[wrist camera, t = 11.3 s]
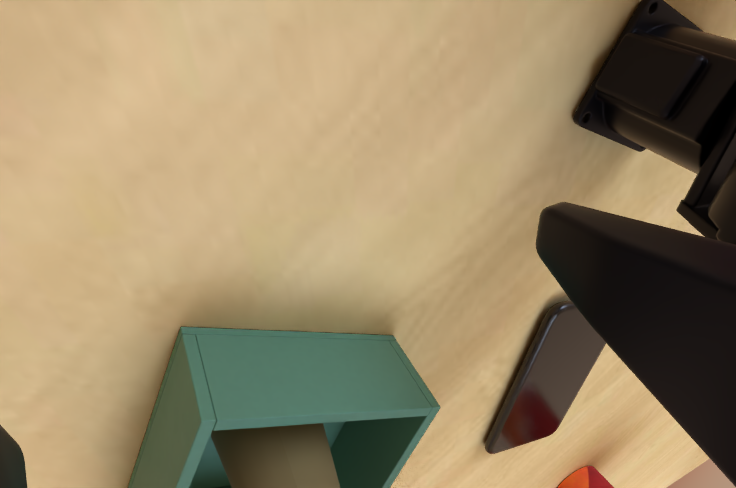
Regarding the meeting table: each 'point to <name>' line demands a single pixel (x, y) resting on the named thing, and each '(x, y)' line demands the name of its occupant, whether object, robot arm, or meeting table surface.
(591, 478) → the paper cup
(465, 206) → the meeting table surface
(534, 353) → the smartphone
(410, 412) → the tote
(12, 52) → the meeting table surface
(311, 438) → the brown pawn
